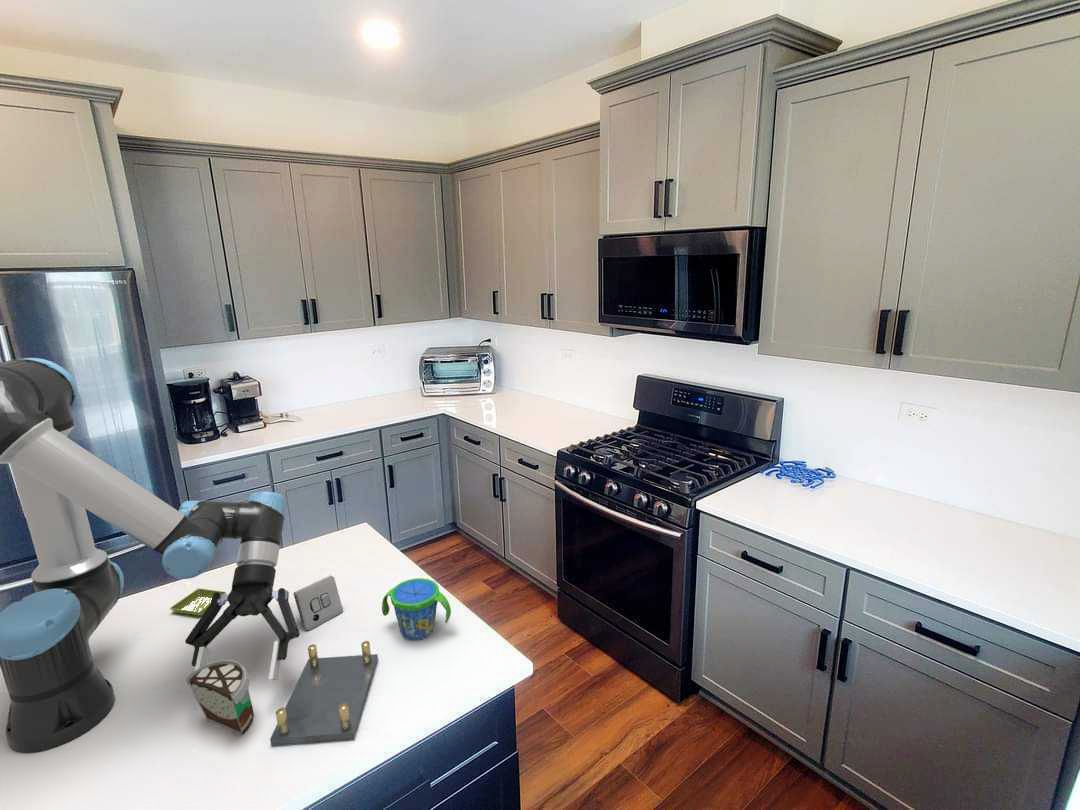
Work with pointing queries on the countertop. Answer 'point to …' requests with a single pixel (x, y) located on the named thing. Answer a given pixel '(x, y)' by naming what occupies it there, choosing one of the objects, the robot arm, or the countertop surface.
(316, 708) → the post plate
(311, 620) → the electrical switch
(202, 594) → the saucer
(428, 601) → the snack cup
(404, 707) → the countertop surface
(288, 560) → the countertop surface
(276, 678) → the robot arm
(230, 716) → the food container
